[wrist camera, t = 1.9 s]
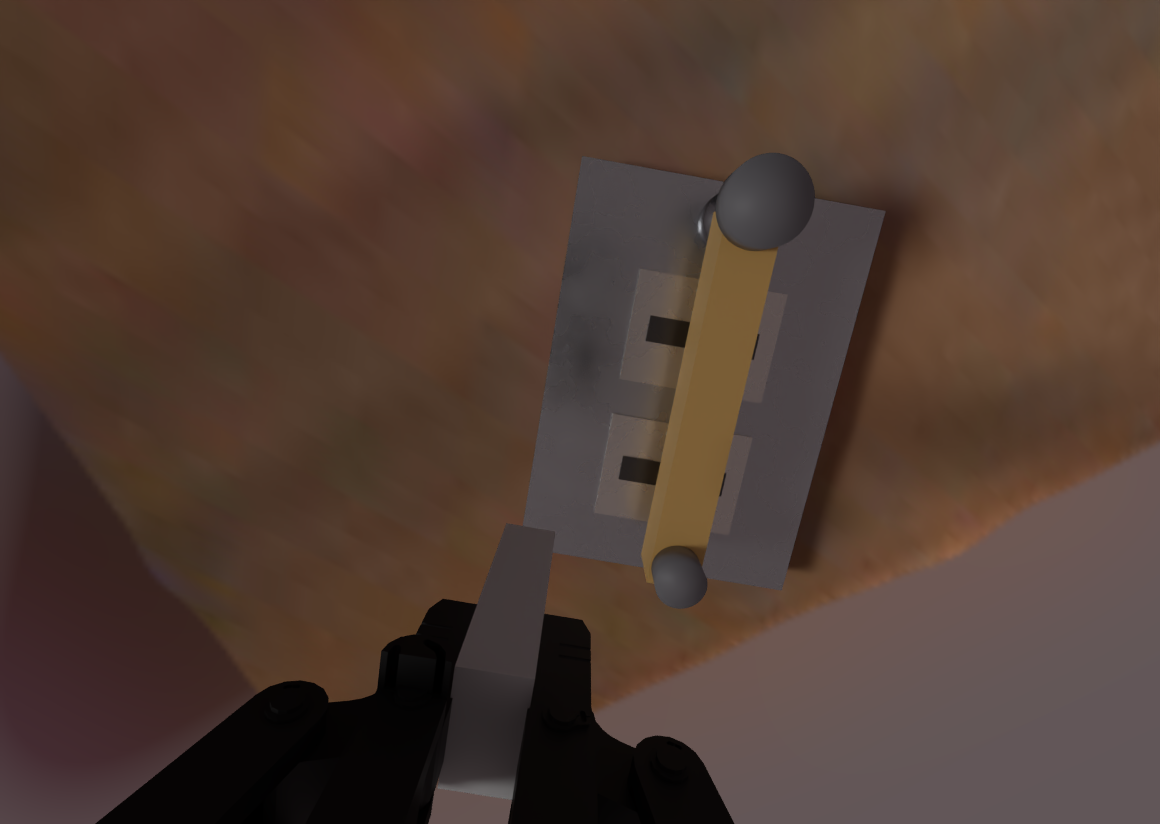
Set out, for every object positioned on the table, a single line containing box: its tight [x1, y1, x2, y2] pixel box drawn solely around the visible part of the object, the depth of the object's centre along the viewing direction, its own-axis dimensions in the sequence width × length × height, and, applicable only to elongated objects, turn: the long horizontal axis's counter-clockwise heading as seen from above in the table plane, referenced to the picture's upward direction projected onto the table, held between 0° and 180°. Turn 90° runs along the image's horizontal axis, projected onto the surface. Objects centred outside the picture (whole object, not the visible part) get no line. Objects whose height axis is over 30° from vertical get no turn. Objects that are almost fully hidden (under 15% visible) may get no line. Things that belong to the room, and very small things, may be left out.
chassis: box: [523, 156, 886, 590], centre depth 31 cm, size 22×16×5 cm
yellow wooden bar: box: [641, 153, 815, 609], centre depth 26 cm, size 20×4×5 cm, turn 170°
